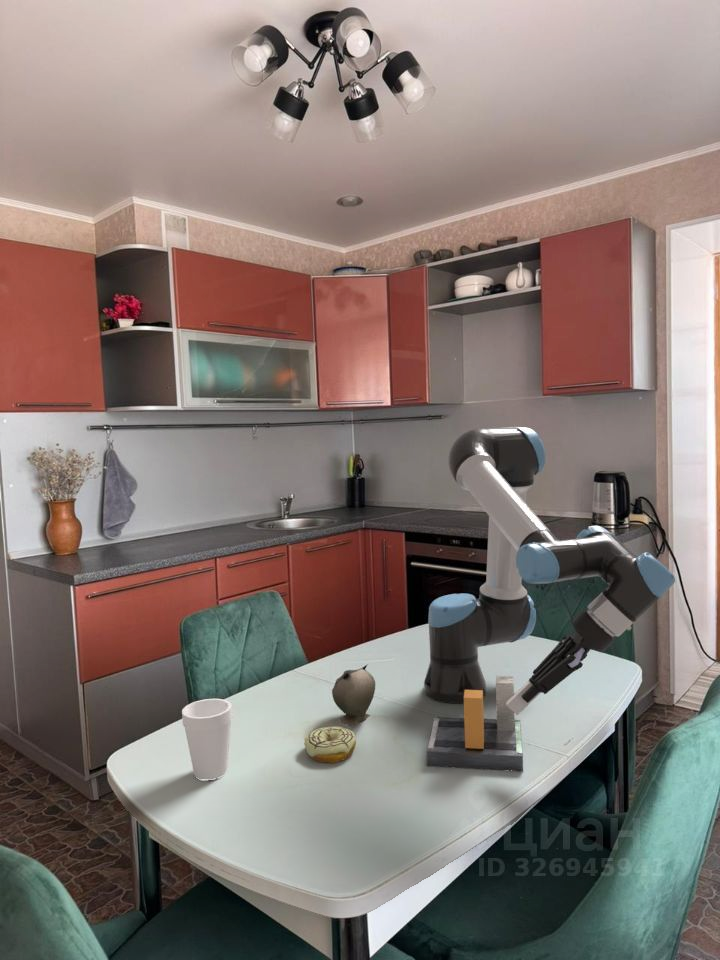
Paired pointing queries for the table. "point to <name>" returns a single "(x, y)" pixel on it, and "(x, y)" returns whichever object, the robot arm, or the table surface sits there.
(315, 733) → the decorated donut
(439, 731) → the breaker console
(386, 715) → the table surface
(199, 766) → the foam cup
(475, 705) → the handle
